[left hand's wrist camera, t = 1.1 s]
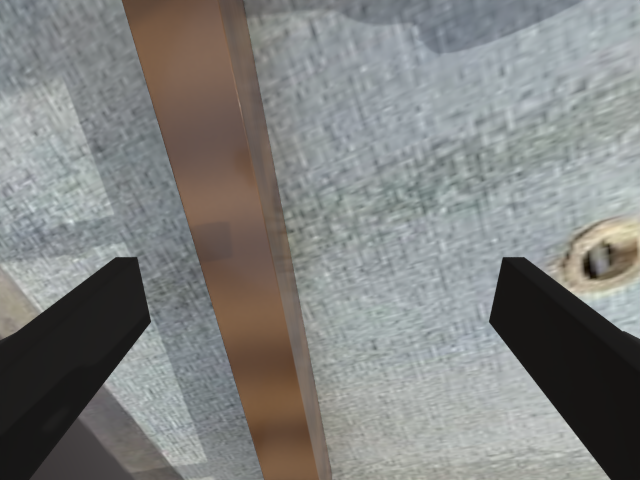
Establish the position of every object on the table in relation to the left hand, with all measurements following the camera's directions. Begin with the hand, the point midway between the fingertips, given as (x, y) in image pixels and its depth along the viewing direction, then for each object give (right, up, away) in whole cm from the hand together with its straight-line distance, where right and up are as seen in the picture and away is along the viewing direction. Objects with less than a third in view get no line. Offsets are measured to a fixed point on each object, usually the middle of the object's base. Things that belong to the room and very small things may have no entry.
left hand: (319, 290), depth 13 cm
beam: (-5, -5, +23) cm, 24 cm away
